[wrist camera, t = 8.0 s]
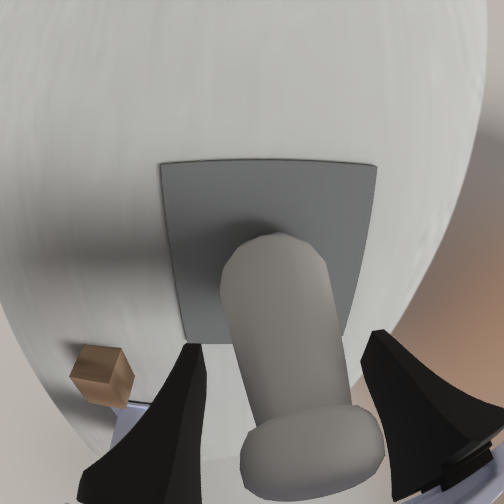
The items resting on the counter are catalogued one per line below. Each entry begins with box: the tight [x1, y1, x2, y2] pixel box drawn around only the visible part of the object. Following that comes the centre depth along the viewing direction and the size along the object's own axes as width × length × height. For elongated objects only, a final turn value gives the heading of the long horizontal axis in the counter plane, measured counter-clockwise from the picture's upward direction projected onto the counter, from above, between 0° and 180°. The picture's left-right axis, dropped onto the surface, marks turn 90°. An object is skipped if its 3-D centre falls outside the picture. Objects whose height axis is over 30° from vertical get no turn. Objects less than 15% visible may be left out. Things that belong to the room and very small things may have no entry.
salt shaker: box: [219, 232, 385, 502], centre depth 11 cm, size 6×6×13 cm
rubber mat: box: [161, 159, 377, 344], centre depth 17 cm, size 13×12×1 cm
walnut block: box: [69, 344, 135, 409], centre depth 19 cm, size 4×4×4 cm
